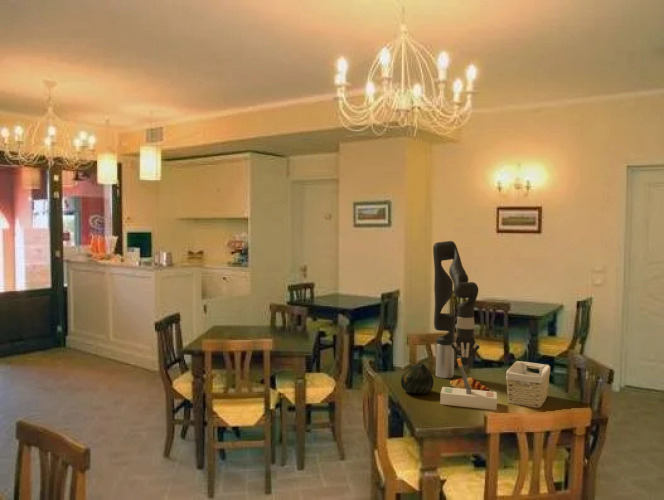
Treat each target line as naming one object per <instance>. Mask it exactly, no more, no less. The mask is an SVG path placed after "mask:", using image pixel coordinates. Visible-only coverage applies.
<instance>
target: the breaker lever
mask: <svg viewBox="0 0 664 500" xmlns="http://www.w3.org/2000/svg"><path fill="white" fill-rule="evenodd" d="M456 363H457V364H458V368H459V371H460V374H461V377H462V378H463V381H464V384H465V388H466V389H470V387H469V384H468V381H467V378H468V377H467V375H466V372H465V368H464V366H463V364H462V357H461V358H460V357H458V358H457V359H456Z"/></svg>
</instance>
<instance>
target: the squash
mask: <svg viewBox="0 0 664 500" xmlns="http://www.w3.org/2000/svg"><path fill="white" fill-rule="evenodd" d="M400 384H401V387H402V389H403V390H404V391H405V392H407V393H408V394H419V395H426V394H428V393H430V392H431V390H432V389H433V387H434V378H433V374H432V372H431V371H430V369H429V368H428V367H427V365H425V363H417V364H415V365H413V366H410V367H408V368H407V369H406V370H404V372H403V373H402V375H401V378H400Z"/></svg>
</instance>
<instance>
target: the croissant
mask: <svg viewBox="0 0 664 500" xmlns="http://www.w3.org/2000/svg"><path fill="white" fill-rule="evenodd" d="M467 381H468V384H469V387H471V390H481V391H490V388H488V387H487V386H486V385H483V384H482V383H481V382H480V381H477V379H476V378H474V377H467ZM449 384H450V386H451V387H452V388H460V389H466V388H465V384H464V381H463V378H458V379H453V380H450V381H449Z"/></svg>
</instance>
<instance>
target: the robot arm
mask: <svg viewBox="0 0 664 500" xmlns="http://www.w3.org/2000/svg"><path fill="white" fill-rule="evenodd" d="M432 249H433V250H432V253H433V255H432V256H433V264H434V265H433V266H434V281H433V282H434V285H433V287H434V289H433V291H434V316H433V325H434V329H435V330H436V331H440V332H447V333H446V334H445V335H441V336H438V337H437V338H436V344H435V345H436V347H435V348H436V349H435V353H436V354H435V376H436V377H437V378H441V379H452V378H454V370H455V369H454V367H455V366H454V365H455V364H454V363H455V354H456V355H457V356H458V357H461V361H462V364H463V367H464V366H468V365H469V358H471V357H473V356H474V354H476V352H477V351H478V350H479V349H480V345H479V344H477V342H476V340H475V305H476V301H477V297H478V295H479V286H478V284H477V283H476V282H474V281H469V276H468V274H467V272H466V270H465V268H464V266H463V263H462V260H461V256H460V254H459V251H458V246H457V245H456V243H455V242H454V241H452V240H448V241H445V240H444V241H440V242H438V241H437V242H435V243H434V244H433V248H432ZM449 260H450V261H451V260H452V262H451V264H450V266H449V270H448V271H449V272H448V273H447V272H446V270H445V269H444V267H443V264H442V262H443V261H449ZM453 294H454V296H455V297H457V298H458V299H466V301H465V302H462V303H459V304H458V305H457V318H456V316H455V314H454V313H448V312H444V313H443V312H442V310H443V308H444V307H445V305H446V304H447V303H448V302H449V301H450V299H451V297H452V296H453ZM456 319H457V320H456ZM455 327H456V329H455ZM455 330H456V339H455ZM457 346H458V348H459V349H460V350H461V351H460V350H459V349H458V348H457ZM472 348H473V349H472ZM471 349H472V350H471ZM470 350H471V352H469V351H470Z"/></svg>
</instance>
